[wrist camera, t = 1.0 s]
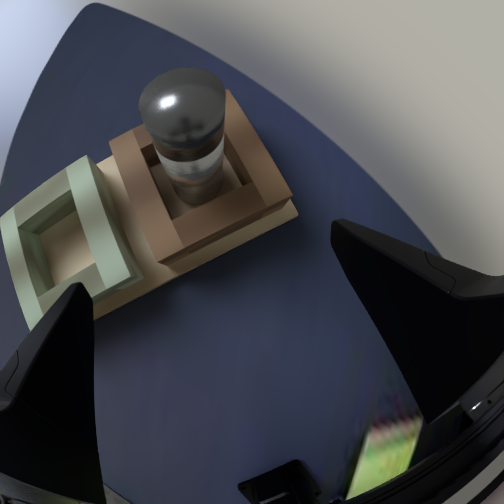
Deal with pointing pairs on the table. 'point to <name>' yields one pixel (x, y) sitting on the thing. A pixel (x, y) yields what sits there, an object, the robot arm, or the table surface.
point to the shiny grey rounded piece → (187, 130)
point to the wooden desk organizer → (137, 221)
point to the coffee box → (113, 497)
